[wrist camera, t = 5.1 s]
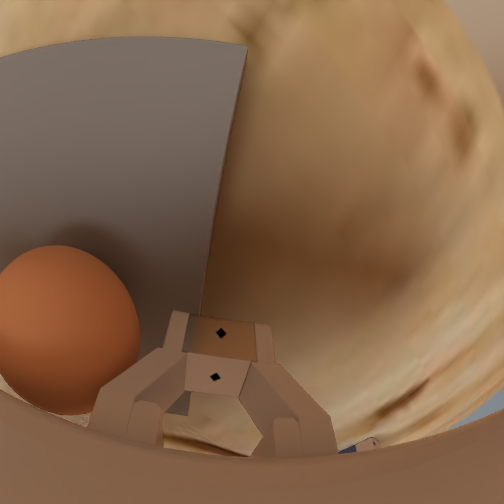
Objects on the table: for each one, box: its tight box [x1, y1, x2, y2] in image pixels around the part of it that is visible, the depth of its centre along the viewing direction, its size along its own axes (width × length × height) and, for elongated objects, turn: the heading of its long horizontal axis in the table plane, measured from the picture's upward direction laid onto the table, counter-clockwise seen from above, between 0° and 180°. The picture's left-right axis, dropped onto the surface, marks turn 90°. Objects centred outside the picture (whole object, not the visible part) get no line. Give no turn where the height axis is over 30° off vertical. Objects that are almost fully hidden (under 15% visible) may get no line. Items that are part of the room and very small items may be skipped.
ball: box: [0, 245, 140, 415], centre depth 7 cm, size 5×5×5 cm
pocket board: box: [0, 37, 248, 416], centre depth 9 cm, size 16×20×3 cm
